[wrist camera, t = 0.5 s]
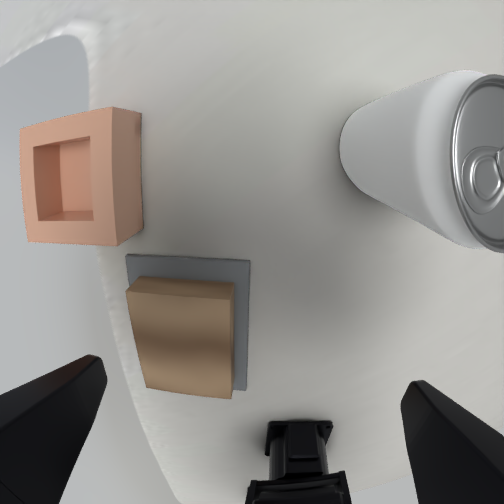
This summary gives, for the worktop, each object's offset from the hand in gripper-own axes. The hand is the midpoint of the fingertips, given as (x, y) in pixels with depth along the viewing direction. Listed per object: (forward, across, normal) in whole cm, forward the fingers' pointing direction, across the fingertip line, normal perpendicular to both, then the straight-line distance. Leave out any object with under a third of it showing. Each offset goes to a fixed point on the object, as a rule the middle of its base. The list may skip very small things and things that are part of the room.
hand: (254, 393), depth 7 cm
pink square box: (+13, +13, -5) cm, 19 cm away
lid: (+13, +5, +7) cm, 16 cm away
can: (+13, -7, -7) cm, 17 cm away
